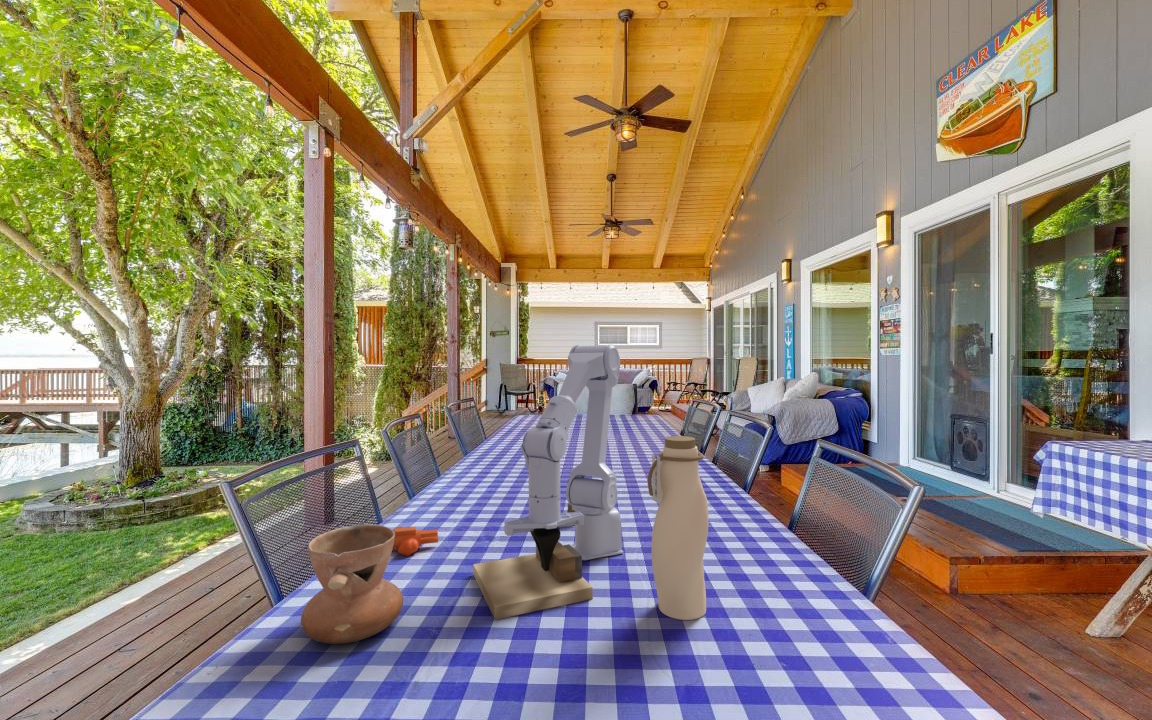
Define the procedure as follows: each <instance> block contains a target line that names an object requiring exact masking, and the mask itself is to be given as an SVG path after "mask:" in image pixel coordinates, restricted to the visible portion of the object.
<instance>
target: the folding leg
mask: <svg viewBox="0 0 1152 720" xmlns="http://www.w3.org/2000/svg"><path fill="white" fill-rule="evenodd" d="M563 545H564V544H562V543H561V542H560V541H559V540H558V542H557V544H556V546H555V548H554V551H553V553H552V557H551V560H550V565H549V571H550V572H551V573H552V574H553V575H554V577H555V578H556V579H557V580H558V581H559V582H563V581H568V580H573V579H575V556H574V555H573V554H572V553H571V552H570V551H569V550H567V549H566V548H565V547H564V546H563ZM535 554H536V557H537V558H538V559H539V560H540V561H541V559H540V555H539V551H538V548H537V546H536V545H535Z"/></svg>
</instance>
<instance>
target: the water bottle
mask: <svg viewBox="0 0 1152 720" xmlns="http://www.w3.org/2000/svg"><path fill="white" fill-rule="evenodd" d="M704 458H705V457H704V454H703V453H701V452H699V451H698V446H697V445H696V438H695V437H692V436H686V435H683V436H682V435H674V436H673V435H672V436H666V437H665V438H664V445H663V450H662V452H660V453H659V454H658V456H657V455H653V454H652V456H651V461H652V463H651V467H650V468H649V472H648V476H647V488H648V492H649V493H648V495H649V496H651V500H653V501H654V502H656V504H658V507H657V510H656V513H655V514H656V515H655V517H654V521H653V526H652V535H651V552H650V553H651V566H652V573H653V579H654V584H655V588H656V589H655V590H656V594H657V601H658V609H659V611H660V612H661V613H662V614H663V615H665V616H667V617H669V618H672V619H675V620H684V621H689V620H690V621H692V620H696V619H699V618H702V617H703V616H705V614H706V613H707V593H706V582H705V571H704V570H705V569H704V567H705V566H704V556H705V555H704V554H705V550H706V546H707V545H706V544H707V541H708V533H709V503H708V498H707V495H706V492H705V491H704V487H703V484H702V480H701V477H700V474H699V461H702V460H703V459H704Z"/></svg>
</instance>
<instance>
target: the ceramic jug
mask: <svg viewBox="0 0 1152 720" xmlns="http://www.w3.org/2000/svg"><path fill="white" fill-rule="evenodd" d="M393 530H394V529H391V528H390V527H388V526H385V525H381V524H370V523H369V524H368V523H367V524H366V523H365V524H363V523H362V524H355V525H351V526H342V527H338V528H335V529H331V530H329V531H327V532H323V533H322V534H319V535H317V536H315V537H314V538H313V539H312V540H310V541H309V543H308V546H307V550H308V556H309V559H310V560H309V561H310V563H311V566H312V570H313V572H314V574H315V576H316V578H317V580H318V582H319V583H320V585H321V587H322V589H321V590H320V591H319V592H318V593H317V594H315V595H314V596H313V597H312V598H311V599H309V601H308V602H307V603H306V605H305V606H304V608H303V610H302V613H301V617H300V624H301V627H302V629H303V631H304V633H305V634H306V636H308V637H309V639H311V640H314V641H315V642H318V643H319V642H320V643H323V644H330V645H341V644H350V643H354V642H359V641H361V640H364V639H368V638H370V637H372V636H374V635H377V634H378V633H380V632H383V630H385V629H387V628H388V627H389V626H390V625H392V624H393V623H394V622H395V621H396V619H398V617H399V615H400V614H401V612H402V610H403V606H404V595H403V593H402V590H401V589H400V588H399V587H398V586H397V585H396V584H394V583H393V582H391V581H389V580H386V579H385V578H383V577H384V575H385V572H386V570H387V567H388V564H389V561H390V558H391V555H392V551H393V550H394V549H393V544H394V539H395V533H394V531H393Z"/></svg>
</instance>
